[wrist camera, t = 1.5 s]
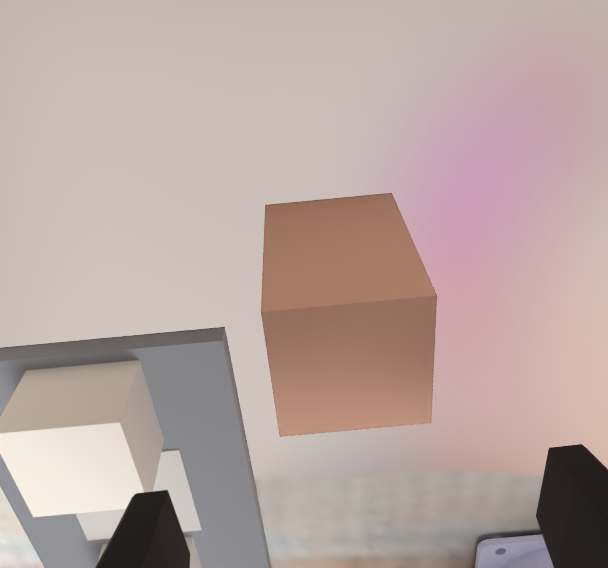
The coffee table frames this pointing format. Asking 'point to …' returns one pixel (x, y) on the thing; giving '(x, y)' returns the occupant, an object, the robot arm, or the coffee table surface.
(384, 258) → the terracotta block
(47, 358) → the block set board
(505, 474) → the coffee table surface
